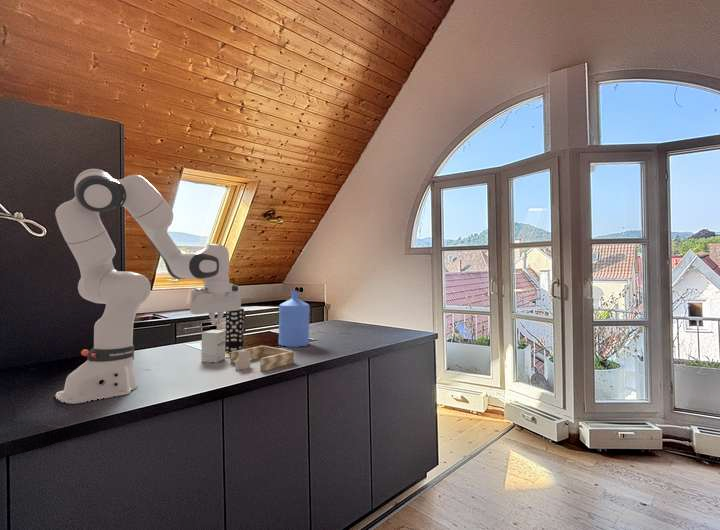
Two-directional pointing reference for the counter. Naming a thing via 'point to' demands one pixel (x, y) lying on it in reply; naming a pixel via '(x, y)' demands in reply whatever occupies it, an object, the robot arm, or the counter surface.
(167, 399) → the counter surface
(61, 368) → the counter surface
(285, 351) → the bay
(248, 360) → the architectural model
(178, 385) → the counter surface
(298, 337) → the water jug
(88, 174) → the robot arm
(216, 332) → the supplement box
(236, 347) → the white-spotted black cylinder
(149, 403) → the counter surface
